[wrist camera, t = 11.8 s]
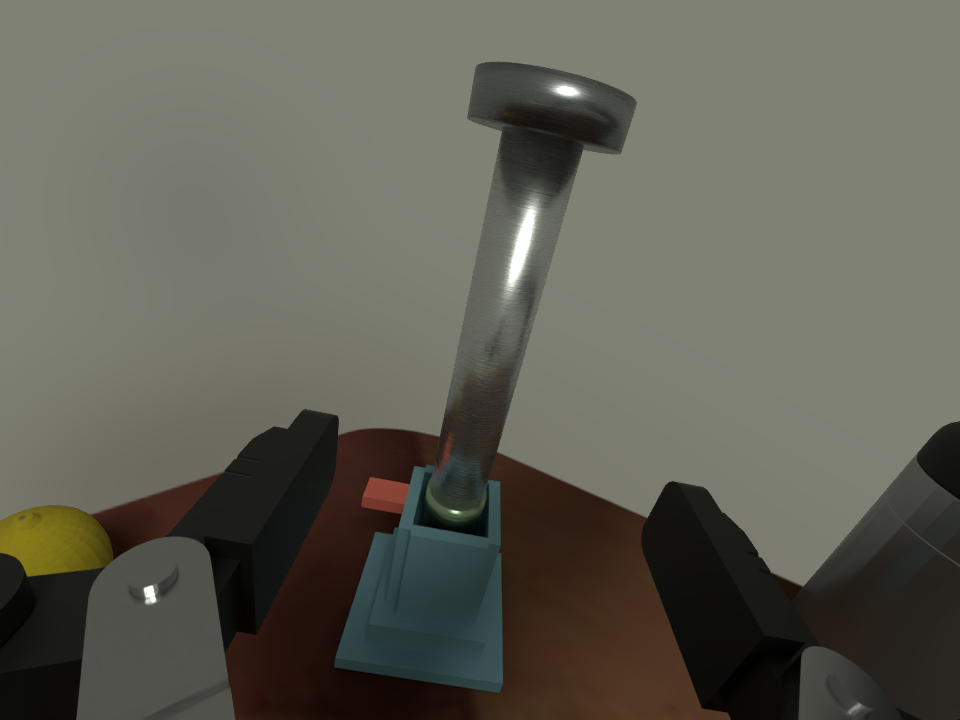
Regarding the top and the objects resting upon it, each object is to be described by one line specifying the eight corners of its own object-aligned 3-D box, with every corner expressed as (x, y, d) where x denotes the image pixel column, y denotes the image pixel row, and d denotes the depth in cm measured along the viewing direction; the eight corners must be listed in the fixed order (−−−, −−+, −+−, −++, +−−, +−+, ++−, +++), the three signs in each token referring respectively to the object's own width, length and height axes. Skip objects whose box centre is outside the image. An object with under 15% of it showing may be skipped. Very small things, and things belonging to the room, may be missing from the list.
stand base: (498, 562, 33) (530, 466, 29) (499, 692, 25) (544, 587, 21) (371, 540, 32) (385, 439, 28) (330, 666, 24) (340, 552, 20)
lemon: (13, 586, 25) (-31, 487, 21) (132, 561, 27) (109, 470, 24) (-35, 687, 20) (-101, 583, 17) (111, 646, 23) (80, 549, 20)
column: (491, 513, 29) (612, 115, 18) (490, 595, 23) (662, 95, 13) (406, 497, 28) (478, 82, 18) (385, 577, 23) (471, 48, 12)
